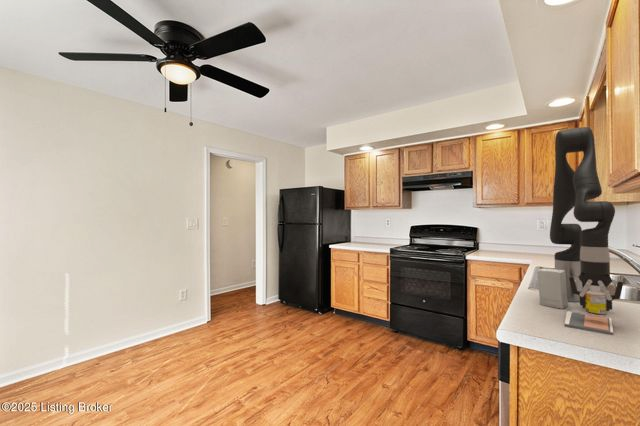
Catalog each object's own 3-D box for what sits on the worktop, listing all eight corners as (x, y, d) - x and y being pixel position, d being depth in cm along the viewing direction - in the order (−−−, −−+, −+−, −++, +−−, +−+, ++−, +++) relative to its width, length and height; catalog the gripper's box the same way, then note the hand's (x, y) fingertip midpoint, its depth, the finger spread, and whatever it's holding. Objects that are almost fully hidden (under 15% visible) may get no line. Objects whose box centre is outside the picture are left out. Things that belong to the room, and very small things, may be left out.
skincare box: (568, 306, 124) (567, 270, 124) (562, 309, 121) (561, 272, 121) (544, 301, 131) (543, 267, 131) (538, 304, 128) (537, 269, 128)
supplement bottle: (586, 311, 108) (586, 282, 108) (608, 314, 104) (607, 284, 104) (583, 314, 105) (583, 284, 105) (605, 318, 100) (605, 287, 100)
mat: (564, 326, 104) (564, 323, 104) (567, 313, 116) (567, 311, 116) (613, 335, 96) (613, 332, 96) (611, 320, 108) (611, 318, 108)
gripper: (623, 260, 102) (624, 310, 102) (568, 256, 112) (569, 302, 112) (624, 263, 97) (626, 316, 97) (566, 259, 107) (567, 307, 107)
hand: (595, 308), depth 105 cm, fingers closed on supplement bottle, 5 cm apart
